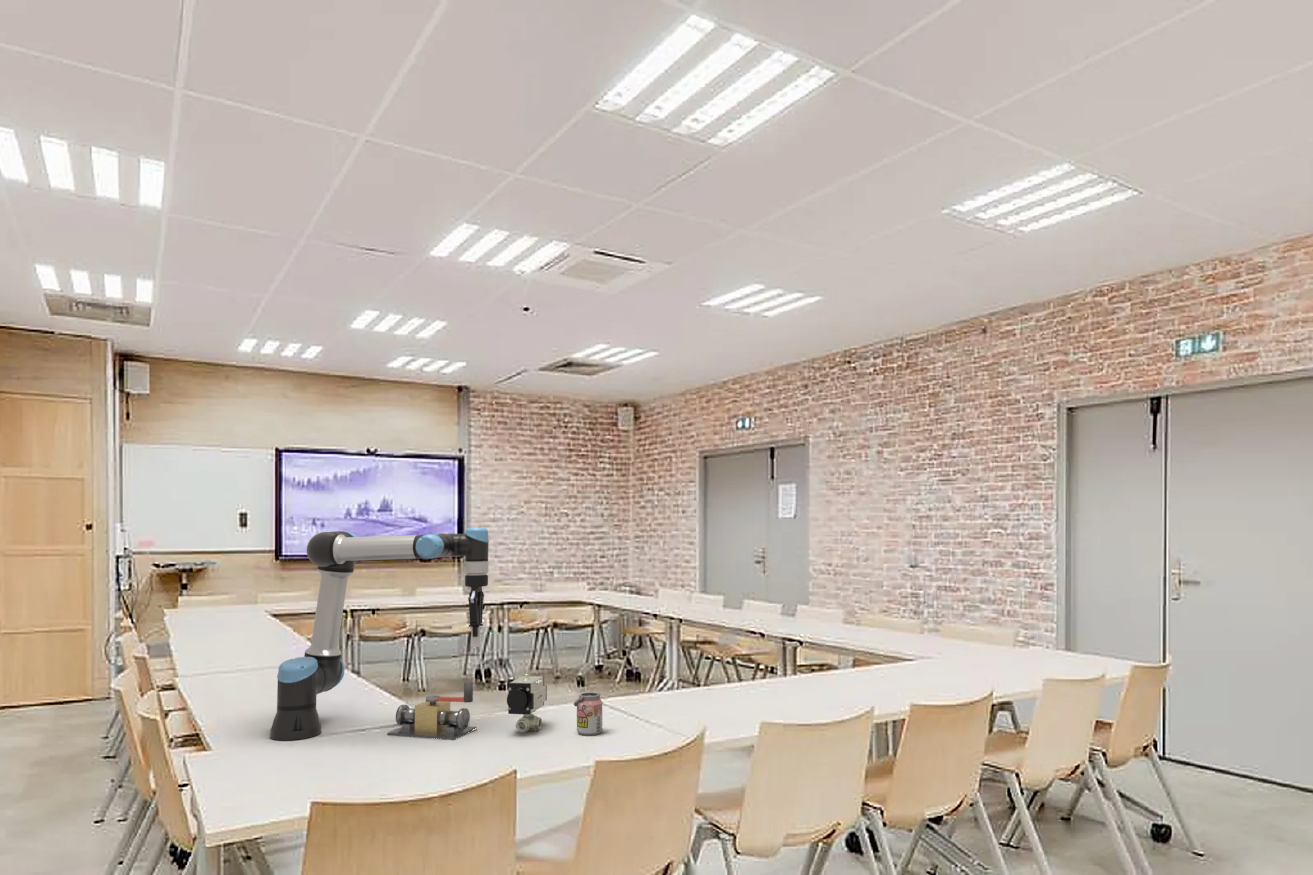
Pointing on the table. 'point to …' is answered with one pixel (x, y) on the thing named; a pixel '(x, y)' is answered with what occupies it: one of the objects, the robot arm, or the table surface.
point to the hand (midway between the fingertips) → (475, 646)
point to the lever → (467, 697)
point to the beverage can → (589, 714)
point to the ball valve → (527, 701)
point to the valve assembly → (432, 721)
